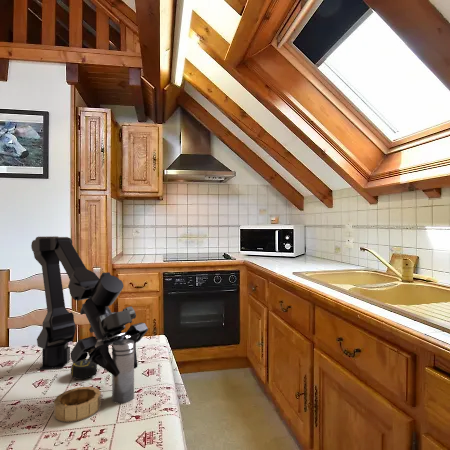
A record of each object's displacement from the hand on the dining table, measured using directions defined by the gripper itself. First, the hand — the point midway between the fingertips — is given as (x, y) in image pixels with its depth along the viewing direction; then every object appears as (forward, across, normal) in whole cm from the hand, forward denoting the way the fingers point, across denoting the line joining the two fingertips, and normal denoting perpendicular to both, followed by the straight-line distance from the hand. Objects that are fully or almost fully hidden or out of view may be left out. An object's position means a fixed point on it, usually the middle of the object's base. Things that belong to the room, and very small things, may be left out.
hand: (126, 371), depth 75 cm
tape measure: (-10, +2, +19) cm, 22 cm away
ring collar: (+1, -9, +8) cm, 12 cm away
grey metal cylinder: (+4, 0, +6) cm, 7 cm away
